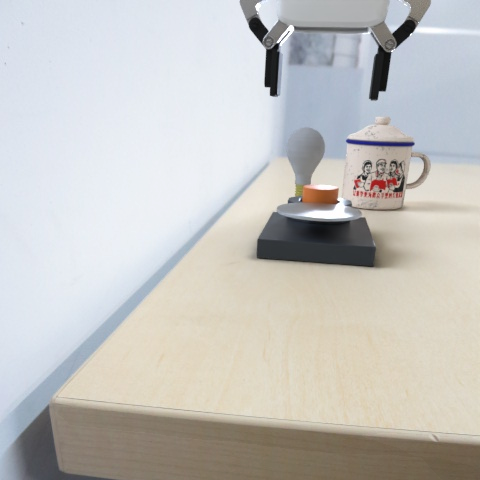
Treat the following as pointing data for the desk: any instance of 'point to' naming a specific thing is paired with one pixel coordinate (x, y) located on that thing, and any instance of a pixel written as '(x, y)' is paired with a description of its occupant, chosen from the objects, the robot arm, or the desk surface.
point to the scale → (317, 239)
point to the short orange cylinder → (320, 194)
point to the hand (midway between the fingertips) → (323, 98)
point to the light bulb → (304, 155)
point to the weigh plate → (319, 211)
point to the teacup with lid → (380, 166)
